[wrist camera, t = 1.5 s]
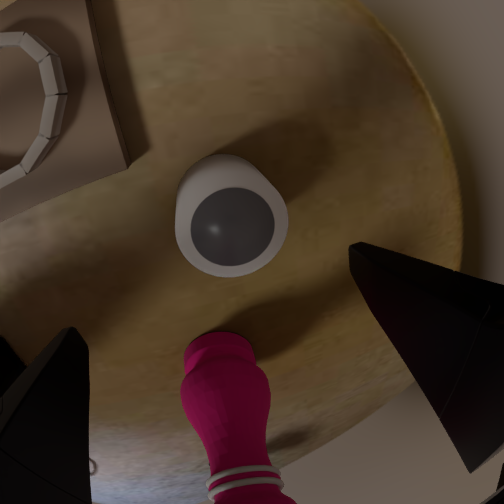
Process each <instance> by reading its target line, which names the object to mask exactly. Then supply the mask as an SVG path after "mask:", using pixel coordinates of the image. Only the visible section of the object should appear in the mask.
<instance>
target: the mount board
mask: <svg viewBox="0 0 504 504" xmlns="http://www.w3.org/2000/svg"><path fill="white" fill-rule="evenodd" d="M130 165H131V161H130V158H129V154H128V151H127V148H126V145H125V141H124V138H123V135H122V131H121V128H120V124H119V121H118V117H117V114H116V110H115V106H114V103H113V99H112V95H111V91H110V88H109V84H108V80H107V76H106V71H105V67H104V63H103V59H102V54H101V50H100V45H99V41H98V36H97V31H96V26H95V21H94V16H93V11H92V5H91V0H17V1H15V2H14V3H12V4H10V5H9V6H7V7H6V8H4V9H3V10H1V11H0V222H2V221H4V220H6V219H8V218H10V217H12V216H14V215H16V214H19V213H21V212H23V211H25V210H27V209H29V208H31V207H34V206H36V205H38V204H40V203H42V202H45V201H47V200H49V199H52V198H54V197H56V196H59V195H61V194H63V193H66V192H68V191H71V190H73V189H76V188H78V187H81V186H83V185H86V184H88V183H91V182H93V181H96V180H99V179H101V178H104V177H107V176H109V175H112V174H115V173H118V172H121V171H123V170H126V169H128V168H129V166H130Z"/></svg>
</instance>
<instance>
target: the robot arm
mask: <svg viewBox="0 0 504 504" xmlns="http://www.w3.org/2000/svg"><path fill="white" fill-rule="evenodd" d="M349 267H350V272H351V275H352V277H353V278H354V280H355V282H356V284H357V286H358V288H359V290H360V292H361V293H362V295H363V297H364V299H365V301H366V303H367V305H368V307H369V309H370V310H371V312H372V314H373V315H374V317H375V318H376V320H377V321H378V323H379V324H380V326H381V327H382V329H383V330H384V332H385V333H386V335H387V336H388V338H389V339H390V341H391V342H392V344H393V345H394V347H395V348H396V350H397V351H398V353H399V354H400V356H401V358H402V359H403V361H404V362H405V364H406V365H407V367H408V369H409V370H410V372H411V373H412V375H413V376H414V378H415V380H416V381H417V383H418V384H419V386H420V388H421V389H422V391H423V393H424V394H425V396H426V397H427V399H428V401H429V402H430V404H431V406H432V407H433V409H434V411H435V412H436V414H437V416H438V417H439V418H440V421H441V423H442V425H443V427H444V428H445V430H446V432H447V433H448V435H449V437H450V439H451V441H452V442H453V444H454V446H455V448H456V449H457V451H458V453H459V455H460V456H461V459H462V460H463V462H464V464H465V466H466V468H467V470H468V471H469V473H472V472H474V471H475V470H477V469H478V468H479V467H481V466H482V465H483V464H485V463H486V462H487V461H489V460H490V459H491V458H493V457H494V456H495V455H496V454H498V453H499V452H500V451H501V450H502V449H504V285H502V284H498V283H494V282H490V281H487V280H483V279H479V278H476V277H473V276H470V275H467V274H463V273H461V272H458V271H453V270H451V269H448V268H445V267H442V266H439V265H436V264H433V263H430V262H427V261H423V260H420V259H417V258H414V257H411V256H407V255H404V254H401V253H398V252H394V251H391V250H388V249H384V248H381V247H378V246H374V245H371V244H368V243H364V242H358V243H355V244H352V245H350V246H349ZM89 399H90V380H89V349H88V346H87V344H86V342H85V341H84V339H83V338H82V336H81V335H80V334H79V332H78V331H77V329H76V328H75V327H68V328H64V329H62V330H61V331H60V332H59V334H58V335H57V336H56V337H55V338H54V339H53V340H52V341H51V342H50V343H49V344H48V345H47V346H46V347H45V348H44V349H43V351H42V352H41V353H40V354H39V355H38V356H37V357H36V358H35V359H34V360H33V361H32V363H31V364H30V365H29V366H28V367H27V368H26V367H25V366H24V364H23V363H22V362H21V361H20V360H19V358H18V357H17V356H16V355H15V353H14V352H13V351H12V349H11V348H10V347H9V345H8V344H7V343H6V341H5V340H4V339H3V338H2V337H0V504H92V499H91V486H90V469H89ZM481 504H504V463H503V465H502V470H501V474H500V478H499V482H498V486H497V489H496V492H495V493H494V494H492V495H491V496H490V497H488V498H487V499H486V500H484V501H483V502H482V503H481Z"/></svg>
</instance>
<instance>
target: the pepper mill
mask: <svg viewBox="0 0 504 504" xmlns="http://www.w3.org/2000/svg"><path fill="white" fill-rule="evenodd" d="M184 366H185V374H186V376H185V378H184V380H183V382H182V385H181V390H180V394H181V400H182V406H183V408H184V411H185V413H186V416H187V418H188V420H189V421H190V423H191V424H192V426H193V427H194V429H195V430H196V432H197V433H198V435H199V437H200V438H201V440H202V442H203V444H204V446H205V449H206V451H207V455H208V459H209V463H210V470H211V477H210V478H209V479H208V480H207V481H206V486H207V488H208V489H209V493H208V498H209V499H210V500H212V501H213V502H215V503H214V504H297V503H296V502H295V501H294V500H293V499H291V498H290V497H288V496H286V495H284V494H283V493H281V490H282V488H283V487H284V483H283V481H282V480H281V478H280V475H281V472H280V470H279V469H278V468H276V467H274V466H272V465H271V462H270V460H269V457H268V454H267V448H266V425H267V419H268V414H269V409H270V400H271V393H270V388H269V383H268V379H267V377H266V375H265V373H264V372H263V371H262V370H261V369H260V368H259V367H258V366H256V360H255V356H254V353H253V349H252V347H251V345H250V343H249V342H248V341H247V340H246V339H245V338H243V337H242V336H240V335H237V334H235V333H230V332H213V333H208V334H205V335H203V336H200V337H199V338H197V339H195V340H194V341H193V342H192V343H191V344H190V345H189V346H188V347H187V349H186V351H185V353H184Z"/></svg>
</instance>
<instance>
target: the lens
mask: <svg viewBox="0 0 504 504" xmlns="http://www.w3.org/2000/svg"><path fill="white" fill-rule="evenodd" d="M287 230H288V212H287V208H286V205H285V203H284V200H283V198H282V197H281V195H280V194H279V192H278V191H277V190H276V189H275V187H274V186H273V185H272V184H271V183H270V182H269V181H268V180H267V179H266V178H265V177H264V176H263V175H262V174H261V173H260V172H259V171H258V169H257V168H256V167H255V166H253V165H252V164H251V163H250V162H248V161H247V160H245V159H243V158H241V157H239V156H236V155H231V154H216V155H211V156H208V157H205V158H203V159H201V160H199V161H198V162H196V163H195V164H193V165H192V166H191V167H190V168H189V169H188V170H187V171H186V173H185V174H184V176H183V177H182V179H181V181H180V183H179V186H178V191H177V200H176V216H175V235H176V240H177V243H178V246H179V248H180V250H181V252H182V254H183V255H184V257H185V258H186V259H187V260H188V261H189V262H190V263H191V264H192V265H193V266H194V267H196V268H197V269H199V270H201V271H203V272H205V273H207V274H210V275H214V276H218V277H238V276H242V275H246V274H249V273H252V272H254V271H256V270H258V269H260V268H261V267H263V266H264V265H266V264H267V263H268V262H269V261H271V260H272V259H273V258H274V256H275V255H276V254H277V253H278V251H279V250H280V248H281V247H282V245H283V243H284V241H285V238H286V235H287Z"/></svg>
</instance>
